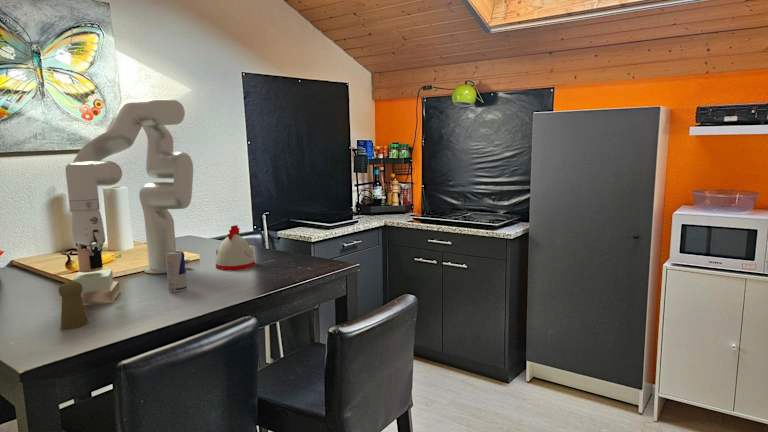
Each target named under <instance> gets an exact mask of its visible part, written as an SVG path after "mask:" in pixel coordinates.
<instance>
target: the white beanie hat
mask: <svg viewBox="0 0 768 432" xmlns="http://www.w3.org/2000/svg"><path fill="white" fill-rule="evenodd" d="M228 232H229V233H227V237H225V238H224V239H223V240H222V242H221V243H220V246H219V247H218V248H217V249H216V251H215V255H216V257H215V269H217V270H219V271H227V270H231V271H240V270H241V269H242V270H245V269H246V268H247V269H250V267H251V268H252V266H253V267H254V266H256V265H255V264H256V263H255V261H256V260H255V256H254V248H253V246H250V244H249V243H248V241H247V240H246V239H245V238H244V237H242V236H241V235H239V234H240V227H239V226H238V224H235V225H231V226H230V229H229V230H228ZM247 269H246V270H247Z"/></svg>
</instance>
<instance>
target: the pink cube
mask: <svg viewBox="0 0 768 432" xmlns="http://www.w3.org/2000/svg"><path fill="white" fill-rule="evenodd" d="M92 248H93V249H94V247H92ZM76 252H77V260H78V270H79V271H78V272H83V273H86V272H95V271H99V270H104V267H103V266H102V267H101V268H96V269H91V268H90V260H89V256H90V251H89V248H86V249H81V250H78V251H77V250H76Z"/></svg>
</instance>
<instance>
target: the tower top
mask: <svg viewBox="0 0 768 432" xmlns="http://www.w3.org/2000/svg"><path fill="white" fill-rule="evenodd" d="M113 276H114V275H113V269H110V268H109V269H102V270H99V271H95V272H86V273H83V272H79V271H78V272H77V274H76V275H75V276H74V278H73V279H72V282H79V283H81V285H82V289H83V290H82V292H91V291H100V290H109V289H110V288H111V286H112V284H113V282H114V277H113Z"/></svg>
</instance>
